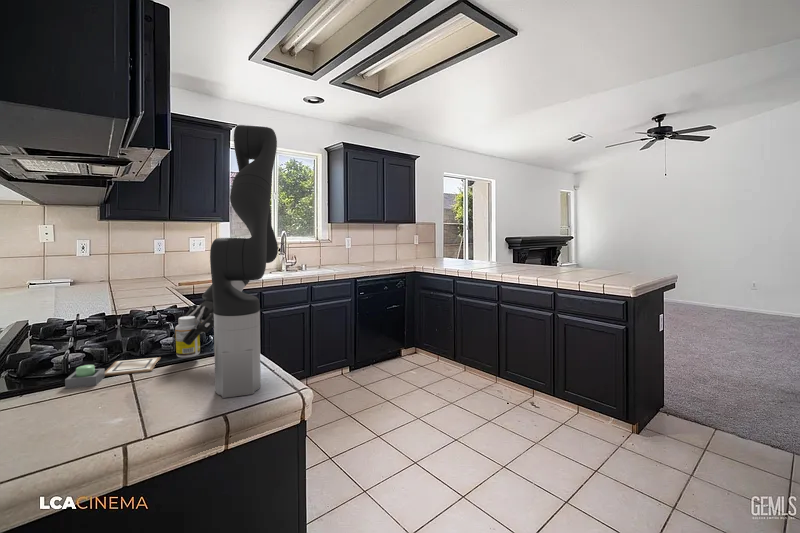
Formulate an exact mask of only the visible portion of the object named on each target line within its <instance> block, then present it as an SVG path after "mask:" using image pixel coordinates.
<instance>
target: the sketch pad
mask: <svg viewBox="0 0 800 533" xmlns="http://www.w3.org/2000/svg"><path fill="white" fill-rule="evenodd" d="M161 359H162V357H161V356H159V357H157V356H156V357H148V358H147V357H146V358H137V359H136V358H135V359H127V360H115V361H114V362H113V363H112V364H111V365H110V366H109V367H108V368H107V369H105V377H109V376H117V375H118V376H119V375H121V376H122V375H129V374H138V373H146V372H147V373H148V372H153V370H154V369H155V367H156V366H157V365H156V363H157V362H158V361H160V360H161ZM158 363H159V362H158ZM158 363H157V364H158ZM155 365H156V366H155Z"/></svg>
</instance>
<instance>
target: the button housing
mask: <svg viewBox="0 0 800 533" xmlns="http://www.w3.org/2000/svg"><path fill="white" fill-rule="evenodd" d="M105 371H106V369H105V368H95V375H93V376H86V377H76V370H75V371H74V372H73V373H71V374H70V375H68V377H66V378H65V379H64V386H65V389H74V388H82V387H92V386H97V385H98V384H99V383H100V382H101V381H102V380H103V379H104V378H105V377H106V376H105Z"/></svg>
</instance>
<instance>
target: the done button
mask: <svg viewBox="0 0 800 533" xmlns="http://www.w3.org/2000/svg"><path fill="white" fill-rule="evenodd" d="M95 369H96V367H95V365H94V364H85V365H80V366H78V367H76V368H75V371H76V377H86V376H93V375H95Z"/></svg>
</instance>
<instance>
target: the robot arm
mask: <svg viewBox="0 0 800 533" xmlns="http://www.w3.org/2000/svg"><path fill="white" fill-rule="evenodd" d="M233 145H234V146H233V147H234V152H235V153H234V154H235V158H236V163H237V170H238V172H237V173H236V174H235V176H234V178H233V180H232V184H231V189H230V194H229V201H230V206H231V207H232V210H234V213H235V214H236V215H237V217H238V218H239V219H240V220H241V221H242V223H243V224H244V226H246V228H247V230H248V232H249V234H250V235H251V236H250V237H218V238H215V239H214V240H213V241H212V242H211V245H210V250H209V263H210V275H211V276H210V277H211V284H210V286H209V287H208V288H207V289H206V290H205V291H204V292H203V294H201V295H202V296H201V298H202V299H203V302H201V303H200V304H199V305H197V304H194V303H193V304H192V306H191V307H190V308H189V309H188V311H187V312H186V313H185V315H184V316H183V317H185V316H195V317H196V324H195V326H194V328H193V329H192V330H191V331H190V332H189V333H188V334H187V335H186V336H185V337H184V339H183V342H184V343H186V344H187V345H191V343H192V342H193V341H194V340H195V339H196V338H197V336H198V335H199V334H201V335H202V334H203V333H204V334H207V333H209V331H210V330H211V329H212V328H213V343H214V346H213V348H214V349H213V350H214V352H213V353H214V383H215V384H214V385H215V386H214V388H215V391H214V392H215V393H216V394H217V395H218V396H221V398H222V399H224V398H225V399H226V398H233V397H240V396H241V397H242V396H246V395H247V396H248V395H254V394H255V392H256V391H257V390H259V389H260V388H261V386H262V385H261V380H262V379H261V376H262V375H261V372H262V370H261V368H262V367H261V310H260V309H261V307H260V306H261V304H260V299H259V298H258V297H257V296H255V295H252V294H248V293H245V292H243V290H244V288H245V287H246V286H247V285H248V284H249V283H250V282H251V281H257V280H261V279H262V278H263V276H264V275H265V272H266V267H267V264H269V263H272V262H273V261H274V262H275V260H276V258H277V256H278V254H279V245H278V241H277V238H276V234H275V231H274V228H273V226H272V212H271V201H272V200H271V199H272V198H271V197H272V185H273V184H272V183H273V180H272V179H273V170H274V167H275V166H274V164H275V159H276V155H277V148H278V140H277V133H276V132H275V130H274V129H273V128H272V127H269V126H266V125H253V124H252V125H251V124H250V125H249V124H237V125H236V126H235V128H234V132H233ZM250 160H252V161H251V162H250ZM172 338H173V339H175V340H176V333H175V332H174V334H173V335H172Z"/></svg>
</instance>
